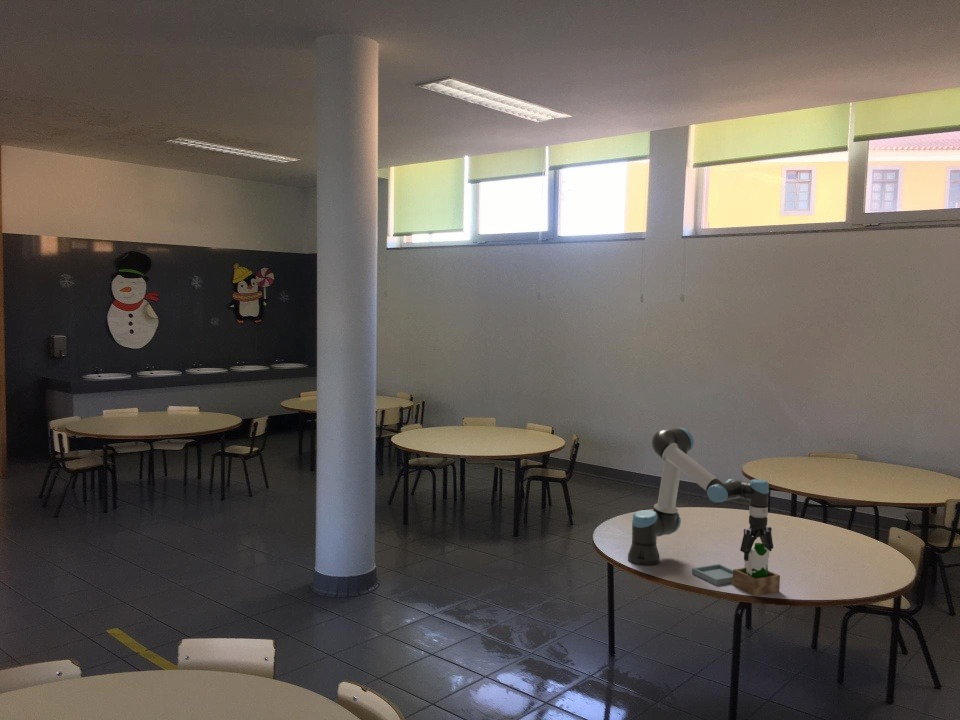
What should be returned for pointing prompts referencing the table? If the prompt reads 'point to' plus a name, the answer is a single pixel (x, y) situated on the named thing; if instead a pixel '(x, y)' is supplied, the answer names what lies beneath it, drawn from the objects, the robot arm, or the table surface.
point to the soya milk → (758, 561)
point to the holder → (756, 582)
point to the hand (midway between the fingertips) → (756, 566)
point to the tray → (714, 574)
